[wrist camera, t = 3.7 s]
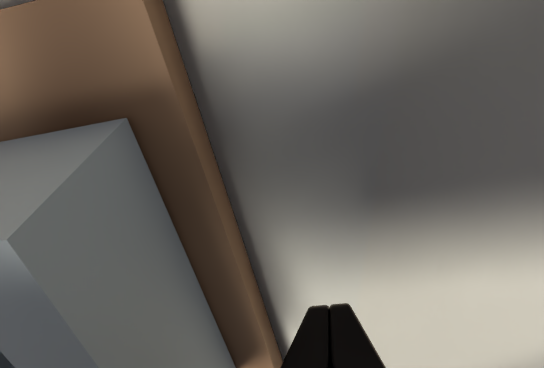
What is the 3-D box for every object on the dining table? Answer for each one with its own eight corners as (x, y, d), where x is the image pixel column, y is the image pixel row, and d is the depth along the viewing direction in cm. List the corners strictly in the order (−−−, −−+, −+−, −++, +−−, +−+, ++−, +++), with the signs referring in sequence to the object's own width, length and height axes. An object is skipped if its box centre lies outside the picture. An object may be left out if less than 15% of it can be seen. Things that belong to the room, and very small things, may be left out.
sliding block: (126, 117, 9) (6, 240, 5) (237, 371, 13) (212, 524, 10) (-196, 179, 10) (-446, 302, 7) (2, 385, 15) (-89, 520, 11)
